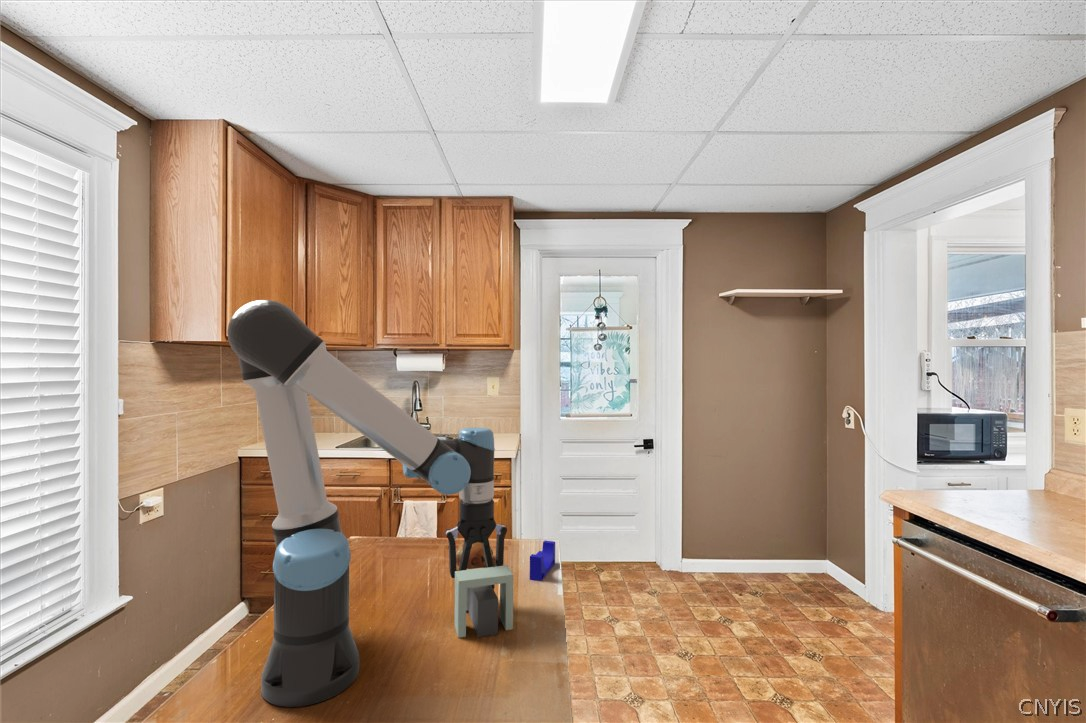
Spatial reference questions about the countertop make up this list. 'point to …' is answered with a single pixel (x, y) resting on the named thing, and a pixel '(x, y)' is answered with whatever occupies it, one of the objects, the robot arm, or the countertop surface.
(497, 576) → the pale green arch
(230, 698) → the countertop surface
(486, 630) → the grey rectangular block
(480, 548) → the bread roll
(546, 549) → the blue cradle block
